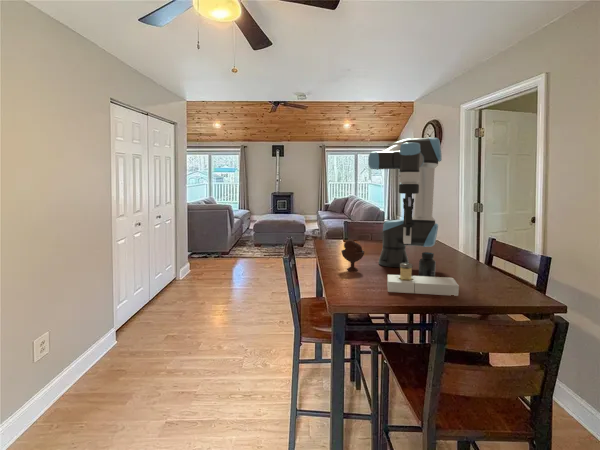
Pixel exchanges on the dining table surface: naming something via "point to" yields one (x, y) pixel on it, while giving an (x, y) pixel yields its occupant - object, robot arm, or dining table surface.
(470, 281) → the dining table surface
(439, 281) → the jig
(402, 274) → the gold grey cylinder
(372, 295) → the dining table surface
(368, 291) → the dining table surface
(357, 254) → the ice cream bowl
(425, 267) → the supplement bottle
